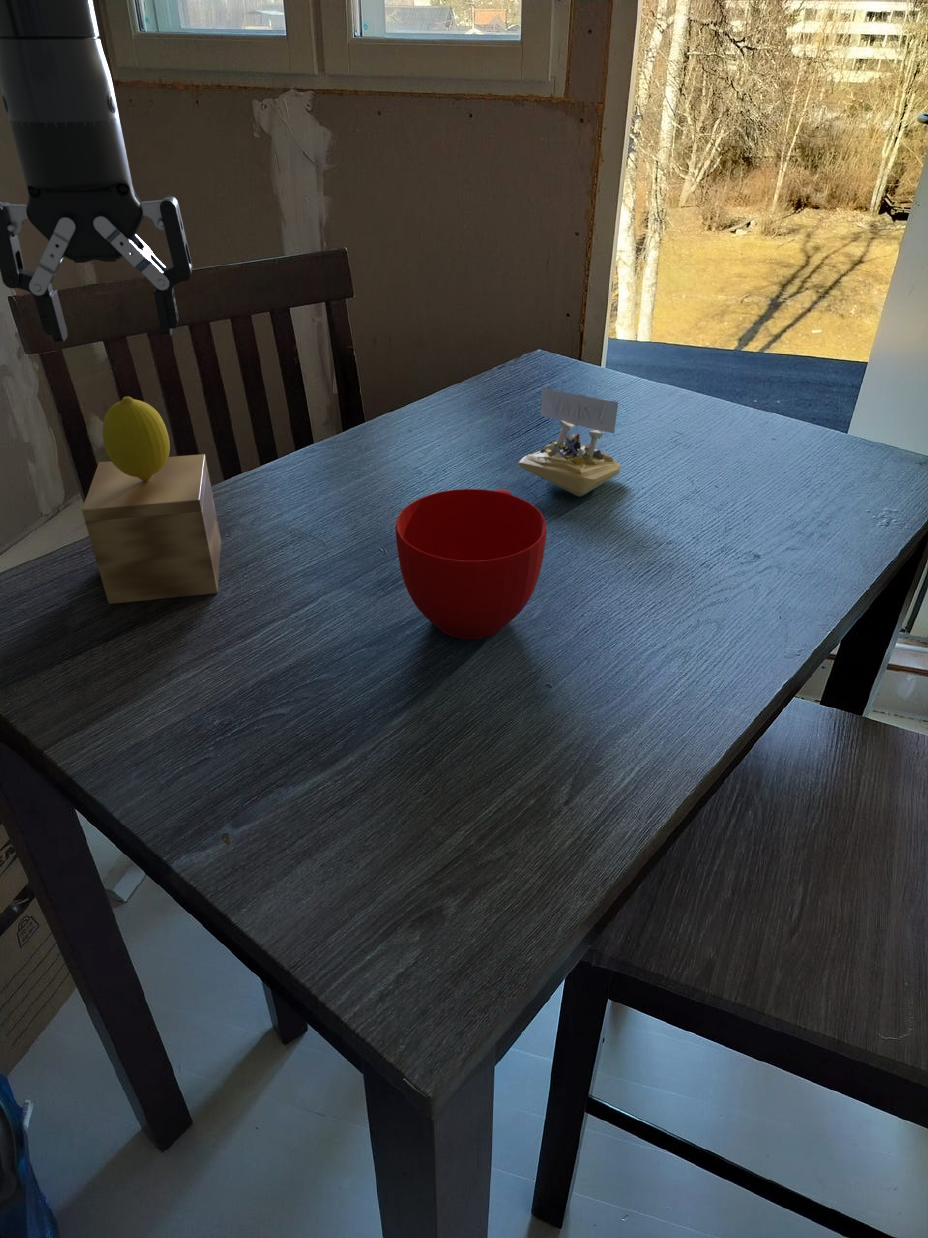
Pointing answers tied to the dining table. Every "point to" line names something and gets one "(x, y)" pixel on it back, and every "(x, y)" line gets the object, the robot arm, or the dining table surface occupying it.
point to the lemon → (136, 438)
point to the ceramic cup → (470, 558)
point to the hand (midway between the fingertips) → (114, 336)
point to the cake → (575, 443)
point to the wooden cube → (154, 531)
